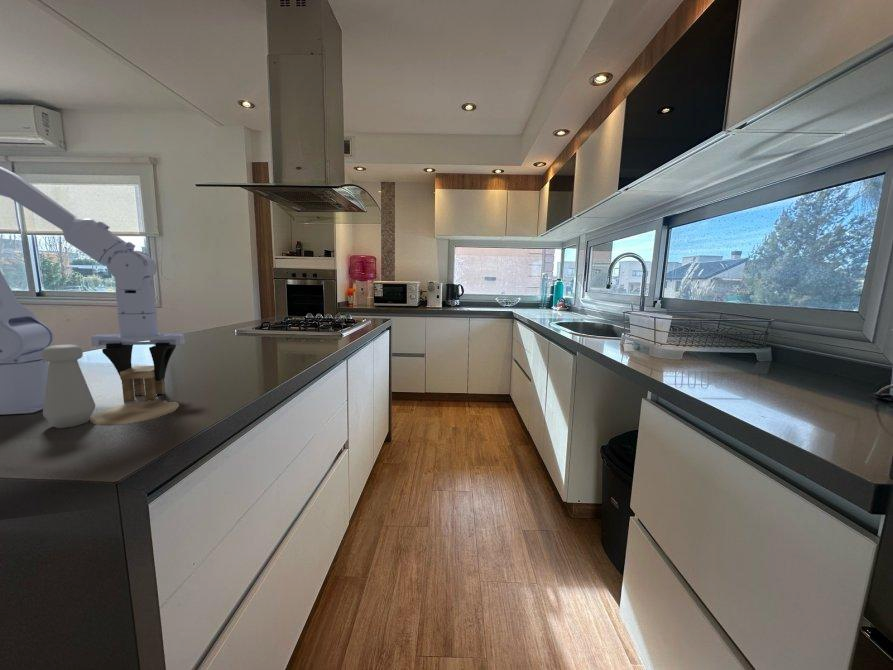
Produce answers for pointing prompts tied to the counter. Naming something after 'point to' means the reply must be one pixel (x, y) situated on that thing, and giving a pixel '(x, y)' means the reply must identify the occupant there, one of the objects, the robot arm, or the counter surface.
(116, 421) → the trivet
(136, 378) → the stool
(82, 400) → the salt shaker
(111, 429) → the counter surface
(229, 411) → the counter surface
